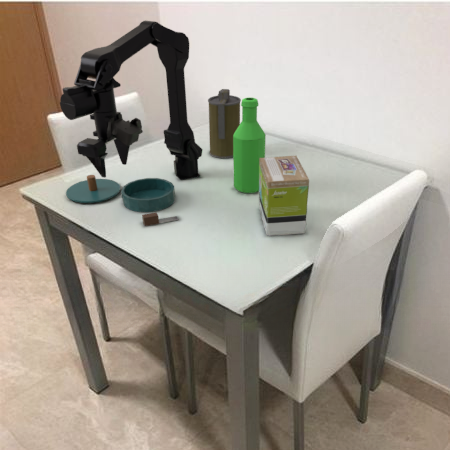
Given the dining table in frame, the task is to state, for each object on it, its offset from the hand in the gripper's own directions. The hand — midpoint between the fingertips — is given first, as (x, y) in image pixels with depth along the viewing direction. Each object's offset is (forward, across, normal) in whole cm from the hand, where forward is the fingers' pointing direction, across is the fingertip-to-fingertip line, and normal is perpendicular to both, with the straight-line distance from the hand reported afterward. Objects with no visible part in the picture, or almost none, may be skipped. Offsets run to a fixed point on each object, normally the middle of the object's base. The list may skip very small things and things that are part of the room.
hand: (114, 170), depth 130 cm
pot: (+10, +7, -5) cm, 13 cm away
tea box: (+11, +10, -43) cm, 46 cm away
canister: (+11, +48, -9) cm, 50 cm away
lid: (+10, +5, +12) cm, 17 cm away
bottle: (+11, +25, -28) cm, 39 cm away
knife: (+10, -3, -15) cm, 18 cm away
